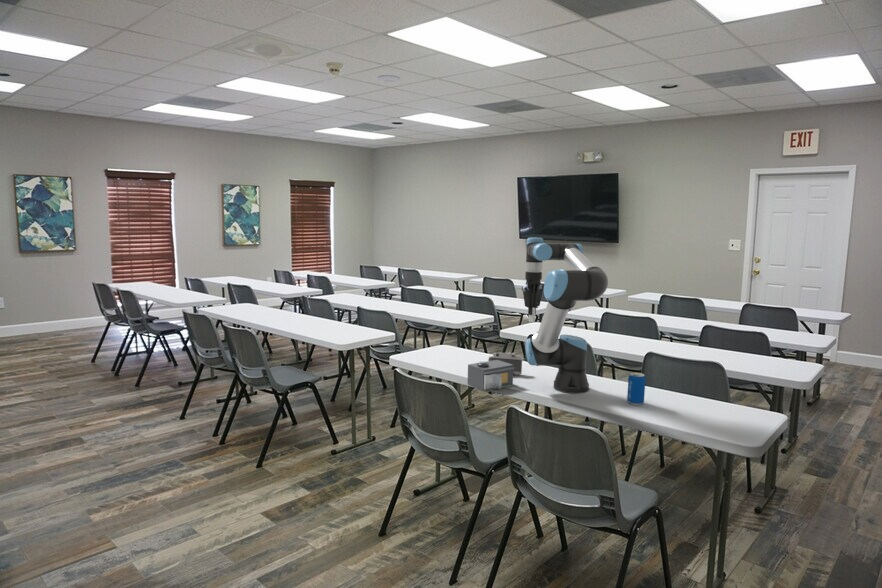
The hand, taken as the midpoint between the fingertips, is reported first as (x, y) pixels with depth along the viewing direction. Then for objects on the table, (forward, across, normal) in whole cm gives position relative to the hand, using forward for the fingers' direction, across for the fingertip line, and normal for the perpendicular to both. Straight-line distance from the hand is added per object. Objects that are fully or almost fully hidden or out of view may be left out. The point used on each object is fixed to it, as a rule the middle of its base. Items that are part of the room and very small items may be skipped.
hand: (531, 321), depth 263 cm
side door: (+25, +30, +8) cm, 40 cm away
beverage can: (+26, -7, +53) cm, 59 cm away
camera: (+27, +6, -11) cm, 29 cm away
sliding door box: (+26, +25, 0) cm, 36 cm away
